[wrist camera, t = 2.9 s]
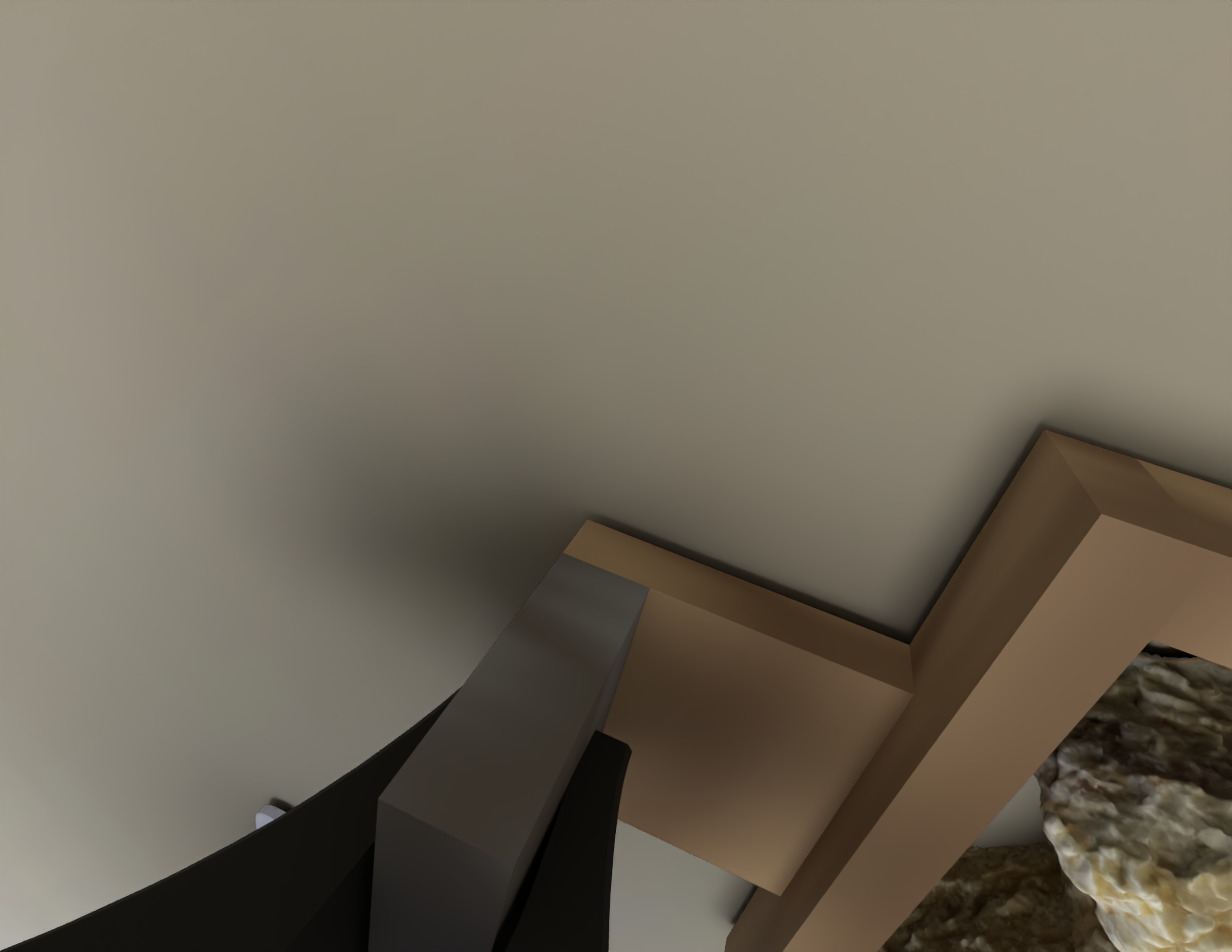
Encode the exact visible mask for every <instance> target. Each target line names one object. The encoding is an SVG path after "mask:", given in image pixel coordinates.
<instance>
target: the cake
mask: <svg viewBox="0 0 1232 952" xmlns="http://www.w3.org/2000/svg"><path fill="white" fill-rule="evenodd" d="M1034 775H1035V777H1036V778H1037V780H1038V782H1039V785H1040V788H1041V795H1040V801H1041V805H1040V809H1041V812H1042V814H1043V826H1042V827H1043V830H1044V832H1045V834H1046V841H1045V842H1043V843H1038V844H1035V845H1028V846H1010V847H1006V846H1002V847H989V848H980V847H971V848H968V849H967V850H966V851H965V852H964V853H963V854H962V855H961V857H960V858H959V859H958V860H957V861H956V862H955V863H954V865H953V866H952V867H951V868H950V869H949V870H948V871H947V873H946V874H945V875H944V876H943V877H942V878H941V879H940V881H939V882H938V883H937V884H936V885H935V886H934V887H933V888H932V890H931V891H930V892H929V893H928V894H927V895H926V896H925V898H924V899H923V900H922V901H921V902H920V903H919V904H918V906H917V907H916V908H915V909H914V910H913V911H912V912H911V914H910V915H909V916H908V917H907V918H906V919H905V920H904V921H903V923H902V924H901V925H900V926H899V927H898V928H897V929H896V931H895V932H894V933H893V934H892V935H891V936H890V937H889V939H888V940H887V941H886V942H885V943H884V944H883V945H882V947H881V948H880V949H879V950H878V951H877V952H1232V669H1230V668H1228V667H1225V666H1222V665H1220V664H1217V663H1214V662H1212V661H1209V660H1205V659H1203V658H1201V657H1193V658H1190V659H1189V658H1187V657H1183V658H1176V657H1168V658H1167V657H1165V656H1164V657H1163V658H1161V657H1160V656H1159V655H1157V654H1155V655H1152V656H1151V655H1150V654H1149V653H1148V652H1140V653H1139V654H1138V655H1137V656H1136V657H1135V659H1134V660H1133V661H1132V662H1131V663H1130V664H1129V665H1128V667H1127V668H1126V669H1125V670H1124V671H1123V672H1122V673H1121V675H1120V676H1119V677H1118V678H1117V679H1116V680H1115V681H1114V682H1113V684H1112V685H1111V686H1110V687H1109V688H1108V689H1107V690H1106V692H1105V693H1104V694H1103V695H1102V696H1101V697H1100V698H1099V700H1098V701H1097V702H1096V703H1095V704H1094V705H1093V706H1092V708H1091V709H1090V710H1089V711H1088V712H1087V713H1086V714H1085V715H1084V717H1083V718H1082V719H1081V720H1080V721H1079V722H1078V723H1077V725H1076V726H1075V727H1074V728H1073V729H1072V730H1071V731H1070V733H1069V734H1068V735H1067V736H1066V737H1065V738H1064V739H1063V741H1062V742H1061V743H1060V744H1059V745H1058V746H1057V747H1056V748H1055V750H1054V751H1053V752H1052V753H1051V754H1050V755H1049V756H1048V758H1047V759H1046V760H1045V761H1044V762H1043V763H1042V764H1041V766H1040V767H1039V768H1038V769H1037V770H1036V771H1035V772H1034Z"/></svg>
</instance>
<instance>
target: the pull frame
mask: <svg viewBox="0 0 1232 952" xmlns="http://www.w3.org/2000/svg"><path fill="white" fill-rule="evenodd" d="M1150 640H1154V641H1157V642H1160V643H1162V644H1165V645H1168V646H1170V647H1173V648H1176V649H1179V650H1181V651H1184V652H1187V653H1190V654H1192V655H1195V656H1198V657H1201V658H1203V659H1206V660H1209V661H1212V662H1214V663H1217V664H1220V665H1222V666H1225V667H1228V668H1231V669H1232V489H1229V488H1226V487H1222V486H1219V485H1216V484H1213V483H1210V482H1207V481H1204V480H1201V479H1197V478H1194V477H1191V476H1188V475H1185V474H1182V473H1179V472H1176V471H1173V470H1169V469H1166V468H1163V467H1160V466H1157V465H1154V464H1151V463H1148V462H1145V461H1141V460H1138V459H1135V458H1132V457H1129V456H1126V455H1123V454H1120V453H1117V452H1113V451H1110V450H1107V449H1104V448H1101V447H1098V446H1095V445H1092V444H1088V443H1085V442H1082V441H1079V440H1076V439H1073V438H1070V437H1067V436H1064V435H1060V434H1057V433H1054V432H1051V431H1048V430H1045V429H1044V431H1043V432H1042V434H1041V436H1040V437H1039V439H1038V440H1037V442H1036V444H1035V445H1034V447H1033V448H1032V450H1031V452H1030V453H1029V455H1028V456H1027V458H1026V460H1025V461H1024V463H1023V464H1022V466H1021V468H1020V469H1019V471H1018V472H1017V474H1016V476H1015V477H1014V479H1013V480H1012V482H1011V484H1010V485H1009V487H1008V488H1007V490H1006V492H1005V493H1004V495H1003V496H1002V498H1001V500H1000V501H999V503H998V504H997V506H996V508H995V509H994V511H993V512H992V514H991V516H990V517H989V519H988V520H987V522H986V524H985V525H984V527H983V528H982V530H981V532H980V533H979V535H978V536H977V538H976V540H975V541H974V543H973V544H972V546H971V548H970V549H969V551H968V552H967V554H966V556H965V557H964V559H963V560H962V562H961V564H960V565H959V567H958V568H957V570H956V572H955V573H954V575H953V576H952V578H951V580H950V581H949V583H948V584H947V586H946V588H945V589H944V591H943V592H942V594H941V596H940V597H939V599H938V600H937V602H936V604H935V605H934V607H933V608H932V610H931V612H930V613H929V615H928V616H927V618H926V620H925V621H924V623H923V624H922V626H921V628H920V629H919V631H918V632H917V634H916V636H915V637H914V639H913V640H912V642H911V644H910V645H908V644H905V643H902V642H900V641H897V640H895V639H892V638H890V637H887V636H885V635H882V634H879V633H877V632H874V631H872V630H869V629H867V628H864V627H862V626H859V625H856V624H854V623H851V622H849V621H846V620H844V619H841V618H839V617H836V616H833V615H831V614H828V613H826V612H823V611H821V610H818V609H816V608H813V607H810V606H808V605H805V604H803V603H800V602H798V601H795V600H793V599H790V598H787V597H785V596H782V595H780V594H777V593H775V592H772V591H770V590H767V589H764V588H762V587H759V586H757V585H754V584H752V583H749V582H747V581H744V580H741V579H739V578H736V577H734V576H731V575H729V574H726V573H723V572H721V571H718V570H716V569H713V568H711V567H708V566H706V565H703V564H700V563H698V562H695V561H693V560H690V559H688V558H685V557H683V556H680V555H677V554H675V553H672V552H670V551H667V550H665V549H662V548H660V547H657V546H654V545H652V544H649V543H647V542H644V541H642V540H639V539H637V538H634V537H631V536H629V535H626V534H624V533H621V532H619V531H616V530H614V529H611V528H608V527H606V526H603V525H601V524H598V523H596V522H593V521H591V520H588V519H587V521H586V522H585V523H584V525H583V526H582V527H581V529H580V530H579V531H578V533H577V534H576V535H575V537H574V538H573V539H572V541H571V542H570V543H569V545H568V546H567V547H566V549H565V550H564V551H563V553H562V554H561V555H560V557H559V558H558V559H557V561H556V562H555V563H554V565H553V566H552V567H551V569H550V570H549V571H548V573H547V574H546V575H545V577H544V578H543V579H542V581H541V582H540V583H539V585H538V586H537V587H536V589H535V590H534V591H533V593H532V594H531V595H530V597H529V598H528V599H527V601H526V602H525V603H524V605H523V606H522V607H521V609H520V610H519V611H518V613H517V614H516V615H515V617H514V618H513V619H512V621H511V622H510V623H509V625H508V626H507V627H506V629H505V630H504V631H503V633H502V634H501V635H500V637H499V638H498V639H497V641H496V642H495V643H494V645H493V646H492V647H491V649H490V650H489V651H488V653H487V654H486V655H485V657H484V658H483V659H482V661H481V662H480V663H479V665H478V666H477V667H476V669H475V670H474V671H473V673H472V674H471V675H470V677H469V678H468V679H467V681H466V682H465V683H464V685H463V686H462V687H461V689H460V690H459V691H458V693H457V694H456V695H455V697H454V698H453V699H452V701H451V702H450V703H449V705H448V706H447V707H446V709H445V710H444V711H443V713H442V714H441V715H440V717H439V718H438V719H437V721H436V722H435V723H434V725H433V726H432V727H431V729H430V730H429V731H428V733H427V734H426V735H425V737H424V738H423V739H422V741H421V742H420V743H419V745H418V746H417V747H416V749H415V750H414V751H413V753H412V754H411V755H410V757H409V758H408V759H407V761H406V762H405V763H404V765H403V766H402V767H401V769H400V770H399V771H398V773H397V774H396V775H395V777H394V778H393V779H392V781H391V782H390V783H389V785H388V786H387V787H386V789H385V790H384V791H383V793H382V794H381V795H380V797H379V798H378V808H377V823H376V838H375V853H374V868H373V884H372V899H371V914H370V929H369V944H368V952H505V951H506V949H507V947H508V945H509V943H510V940H511V938H512V936H513V934H514V932H515V930H516V927H517V925H518V923H519V920H520V918H521V915H522V913H523V910H524V908H525V905H526V903H527V900H528V898H529V895H530V892H531V890H532V887H533V884H534V881H535V878H536V875H537V873H538V870H539V867H540V864H541V861H542V858H543V856H544V853H545V850H546V847H547V844H548V842H549V839H550V836H551V833H552V830H553V827H554V825H555V822H556V819H557V816H558V813H559V810H560V808H561V805H562V802H563V799H564V796H565V794H566V791H567V788H568V785H569V782H570V779H571V777H572V775H573V773H574V771H575V769H576V767H577V765H578V763H579V761H580V759H581V757H582V755H583V753H584V751H585V749H586V747H587V745H588V743H589V741H590V739H591V737H592V736H593V734H594V732H595V730H598V731H600V732H602V733H604V734H607V735H609V736H611V737H613V738H616V739H618V740H620V741H622V742H624V743H627V744H628V745H629V747H630V748H631V750H632V754H631V757H630V760H629V763H628V767H627V771H626V775H625V779H624V783H623V788H622V794H621V799H620V805H619V812H618V819H619V820H621V821H623V822H625V823H627V824H629V825H631V826H633V827H635V828H637V829H640V830H642V831H644V832H646V833H648V834H650V835H652V836H654V837H656V838H659V839H661V840H663V841H665V842H667V843H669V844H671V845H673V846H675V847H677V848H680V849H682V850H684V851H686V852H688V853H690V854H692V855H694V856H696V857H698V858H701V859H703V860H705V861H707V862H709V863H711V864H713V865H715V866H717V867H720V868H722V869H724V870H726V871H728V872H730V873H732V874H734V875H736V876H738V877H741V878H743V879H745V880H747V881H749V882H751V883H753V884H755V885H757V886H759V887H758V889H757V890H756V892H755V893H754V895H753V897H752V898H751V900H750V901H749V903H748V905H747V906H746V908H745V909H744V911H743V913H742V914H741V916H740V917H739V919H738V921H737V922H736V924H735V925H734V927H733V929H732V930H731V932H730V933H729V935H728V937H727V940H726V946H725V951H724V952H877V951H878V950H879V949H880V948H881V947H882V945H883V944H884V943H885V942H886V941H887V940H888V939H889V937H890V936H891V935H892V934H893V933H894V932H895V931H896V929H897V928H898V927H899V926H900V925H901V924H902V923H903V921H904V920H905V919H906V918H907V917H908V916H909V915H910V914H911V912H912V911H913V910H914V909H915V908H916V907H917V906H918V904H919V903H920V902H921V901H922V900H923V899H924V898H925V896H926V895H927V894H928V893H929V892H930V891H931V890H932V888H933V887H934V886H935V885H936V884H937V883H938V882H939V881H940V879H941V878H942V877H943V876H944V875H945V874H946V873H947V871H948V870H949V869H950V868H951V867H952V866H953V865H954V863H955V862H956V861H957V860H958V859H959V858H960V857H961V855H962V854H963V853H964V852H965V851H966V850H967V849H968V848H969V846H970V845H971V844H972V843H973V842H974V841H975V840H976V838H977V837H978V836H979V835H980V834H981V833H982V832H983V830H984V829H985V828H986V827H987V826H988V825H989V824H990V822H991V821H992V820H993V819H994V818H995V817H996V816H997V815H998V813H999V812H1000V811H1001V810H1002V809H1003V808H1004V807H1005V805H1006V804H1007V803H1008V802H1009V801H1010V800H1011V799H1012V797H1013V796H1014V795H1015V794H1016V793H1017V792H1018V791H1019V789H1020V788H1021V787H1022V786H1023V785H1024V784H1025V783H1026V781H1027V780H1028V779H1029V778H1030V777H1031V776H1032V775H1033V774H1034V772H1035V771H1036V770H1037V769H1038V768H1039V767H1040V766H1041V764H1042V763H1043V762H1044V761H1045V760H1046V759H1047V758H1048V756H1049V755H1050V754H1051V753H1052V752H1053V751H1054V750H1055V748H1056V747H1057V746H1058V745H1059V744H1060V743H1061V742H1062V741H1063V739H1064V738H1065V737H1066V736H1067V735H1068V734H1069V733H1070V731H1071V730H1072V729H1073V728H1074V727H1075V726H1076V725H1077V723H1078V722H1079V721H1080V720H1081V719H1082V718H1083V717H1084V715H1085V714H1086V713H1087V712H1088V711H1089V710H1090V709H1091V708H1092V706H1093V705H1094V704H1095V703H1096V702H1097V701H1098V700H1099V698H1100V697H1101V696H1102V695H1103V694H1104V693H1105V692H1106V690H1107V689H1108V688H1109V687H1110V686H1111V685H1112V684H1113V682H1114V681H1115V680H1116V679H1117V678H1118V677H1119V676H1120V675H1121V673H1122V672H1123V671H1124V670H1125V669H1126V668H1127V667H1128V665H1129V664H1130V663H1131V662H1132V661H1133V660H1134V659H1135V657H1136V656H1137V655H1138V654H1139V653H1140V652H1141V651H1142V649H1143V648H1144V647H1145V646H1146V645H1147V644H1148V643H1149V642H1150Z"/></svg>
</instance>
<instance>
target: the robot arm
mask: <svg viewBox="0 0 1232 952" xmlns="http://www.w3.org/2000/svg"><path fill="white" fill-rule="evenodd" d="M460 689H461V688H459V689H458V690H457V691H456V692H455V693H454V694H452V695H451V696H450V697H449V698H448V699H446V700H445V701H444V702H443V703H442V704H440V705H439V706H438V707H437V708H435V709H434V710H433V711H432V712H430V713H429V714H428V715H427V716H425V717H424V718H423V719H422V720H420V721H419V722H418V723H416V724H415V725H414V726H413V727H411V728H410V729H409V730H407V731H406V732H405V733H403V734H402V735H401V736H399V737H398V738H396V739H395V740H394V741H392V742H391V743H390V744H388V745H387V746H385V747H384V748H383V749H381V750H380V751H379V752H377V753H376V754H375V755H373V756H372V757H370V758H369V759H368V760H366V761H365V762H363V763H362V764H360V765H359V766H358V767H356V768H355V769H353V770H351V771H350V772H348V773H347V774H345V775H344V776H342V777H341V778H339V779H338V780H336V781H335V782H333V783H332V784H330V785H329V786H327V787H326V788H324V789H323V790H321V791H320V792H318V793H317V794H315V795H314V796H312V797H310V798H309V799H307V800H306V801H304V802H302V803H301V804H299V805H298V806H296V807H294V808H293V809H291V810H289V811H288V812H285V811H283V810H281V809H279V808H277V807H275V806H272V805H266V806H264V807H263V808H262V809H261V810H260V811H259V812H258V813H257V814H256V817H255V819H256V830H255V831H253V832H252V833H250V834H248V835H247V836H245V837H243V838H241V839H239V840H238V841H236V842H234V843H232V844H230V845H228V846H226V847H224V848H223V849H221V850H219V851H217V852H215V853H213V854H211V855H209V856H207V857H205V858H204V859H202V860H200V861H198V862H196V863H194V864H192V865H190V866H188V867H187V868H185V869H183V870H181V871H179V872H177V873H175V874H173V875H171V876H169V877H167V878H165V879H162V880H160V881H158V882H156V883H154V884H152V885H150V886H148V887H146V888H144V889H141V890H139V891H137V892H135V893H133V894H130V895H128V896H126V897H124V898H122V899H120V900H117V901H115V902H113V903H111V904H109V905H106V906H104V907H102V908H100V909H98V910H95V911H93V912H91V913H89V914H87V915H85V916H82V917H80V918H78V919H76V920H74V921H71V922H69V923H67V924H64V925H62V926H60V927H57V928H55V929H53V930H50V931H48V932H46V933H43V934H41V935H38V936H36V937H33V938H31V939H28V940H26V941H23V942H21V943H18V944H16V945H13V946H11V947H8V948H6V949H3V950H1V951H0V952H368V944H369V929H370V914H371V899H372V884H373V868H374V853H375V838H376V823H377V808H378V798H379V797H380V795H381V794H382V793H383V791H384V790H385V789H386V787H387V786H388V785H389V783H390V782H391V781H392V779H393V778H394V777H395V775H396V774H397V773H398V771H399V770H400V769H401V767H402V766H403V765H404V763H405V762H406V761H407V759H408V758H409V757H410V755H411V754H412V753H413V751H414V750H415V749H416V747H417V746H418V745H419V743H420V742H421V741H422V739H423V738H424V737H425V735H426V734H427V733H428V731H429V730H430V729H431V727H432V726H433V725H434V723H435V722H436V721H437V719H438V718H439V717H440V715H441V714H442V713H443V711H444V710H445V709H446V707H447V706H448V705H449V703H450V702H451V701H452V699H453V698H454V697H455V695H456V694H457V693H458V691H459V690H460ZM631 754H632V750H631V748H630V747H629V745H628V744H627V743H624V742H622V741H620V740H618V739H616V738H613V737H611V736H609V735H607V734H604V733H602V732H600V731H598V730H595V732H594V734H593V736H592V737H591V739H590V741H589V743H588V745H587V747H586V749H585V751H584V753H583V755H582V757H581V759H580V761H579V763H578V765H577V767H576V769H575V771H574V773H573V775H572V777H571V779H570V782H569V785H568V788H567V791H566V794H565V796H564V799H563V802H562V805H561V808H560V810H559V813H558V816H557V819H556V822H555V825H554V827H553V830H552V833H551V836H550V839H549V842H548V844H547V847H546V850H545V853H544V856H543V858H542V861H541V864H540V867H539V870H538V873H537V875H536V878H535V881H534V884H533V887H532V890H531V892H530V895H529V898H528V900H527V903H526V905H525V908H524V910H523V913H522V915H521V918H520V920H519V923H518V925H517V927H516V930H515V932H514V934H513V936H512V938H511V940H510V943H509V945H508V947H507V949H506V951H505V952H608V950H609V914H610V893H611V880H612V867H613V854H614V843H615V834H616V826H617V819H618V812H619V805H620V799H621V794H622V788H623V783H624V779H625V775H626V771H627V767H628V763H629V760H630V757H631Z"/></svg>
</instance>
